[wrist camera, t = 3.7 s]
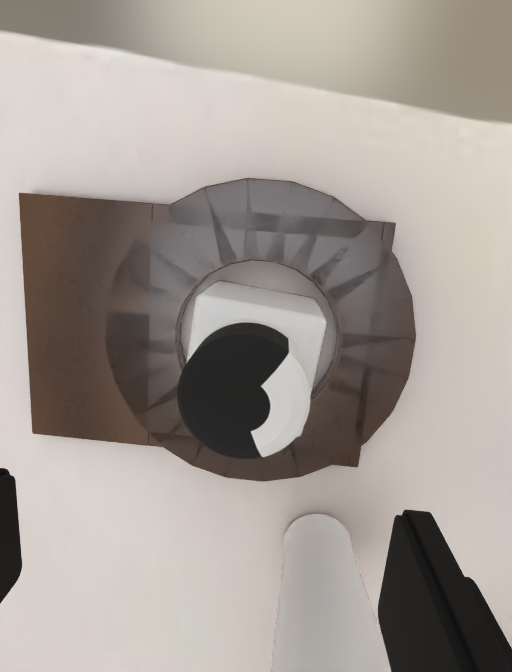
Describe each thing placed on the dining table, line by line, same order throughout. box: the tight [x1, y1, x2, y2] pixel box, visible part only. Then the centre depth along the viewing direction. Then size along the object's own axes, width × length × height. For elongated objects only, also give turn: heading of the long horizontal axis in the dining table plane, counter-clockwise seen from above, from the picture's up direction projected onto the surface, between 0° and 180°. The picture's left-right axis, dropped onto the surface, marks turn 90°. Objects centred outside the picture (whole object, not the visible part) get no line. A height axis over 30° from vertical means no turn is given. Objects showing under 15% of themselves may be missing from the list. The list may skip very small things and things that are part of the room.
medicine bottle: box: [177, 281, 327, 460], centre depth 24 cm, size 7×7×12 cm
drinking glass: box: [271, 514, 391, 672], centre depth 26 cm, size 7×7×15 cm
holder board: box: [19, 178, 416, 481], centre depth 29 cm, size 26×21×2 cm
